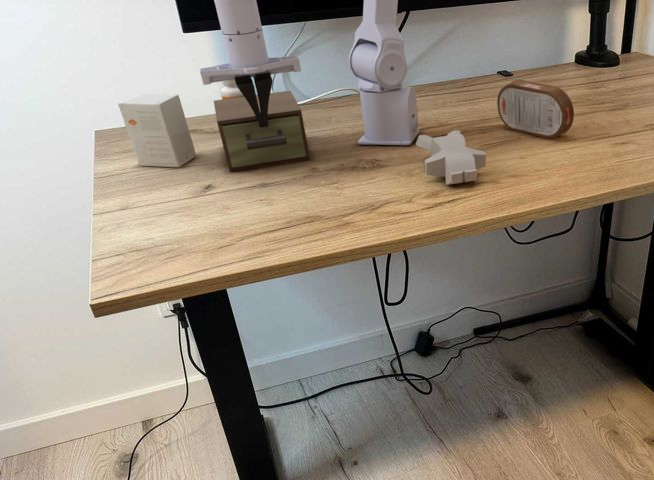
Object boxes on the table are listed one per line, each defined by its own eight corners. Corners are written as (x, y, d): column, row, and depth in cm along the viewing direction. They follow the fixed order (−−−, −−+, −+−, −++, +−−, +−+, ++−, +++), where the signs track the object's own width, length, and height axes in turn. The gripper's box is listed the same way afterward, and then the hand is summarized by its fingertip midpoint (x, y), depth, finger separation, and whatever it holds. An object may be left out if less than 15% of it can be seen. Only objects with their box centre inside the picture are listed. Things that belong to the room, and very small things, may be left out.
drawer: (310, 165, 105) (303, 124, 101) (234, 178, 102) (223, 136, 98) (295, 135, 118) (288, 97, 114) (228, 145, 115) (218, 106, 112)
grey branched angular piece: (432, 166, 93) (408, 124, 104) (433, 198, 96) (410, 154, 107) (495, 157, 95) (465, 117, 105) (494, 189, 98) (465, 147, 109)
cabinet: (310, 159, 110) (301, 109, 105) (229, 172, 107) (216, 121, 102) (298, 136, 120) (290, 90, 115) (225, 147, 117) (213, 100, 112)
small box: (197, 156, 114) (180, 94, 107) (179, 168, 109) (159, 103, 103) (157, 154, 115) (138, 93, 109) (138, 166, 111) (116, 102, 105)
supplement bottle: (250, 131, 124) (238, 78, 118) (224, 131, 125) (211, 78, 119) (262, 123, 128) (251, 70, 122) (237, 122, 129) (225, 70, 123)
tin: (573, 139, 112) (576, 87, 107) (562, 144, 110) (565, 92, 105) (505, 123, 121) (505, 75, 116) (494, 128, 119) (494, 79, 114)
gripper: (191, 42, 90) (217, 140, 98) (295, 29, 94) (313, 124, 101) (190, 34, 96) (215, 127, 104) (289, 22, 99) (306, 113, 107)
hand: (263, 125), depth 103 cm, fingers closed, pressing on drawer
